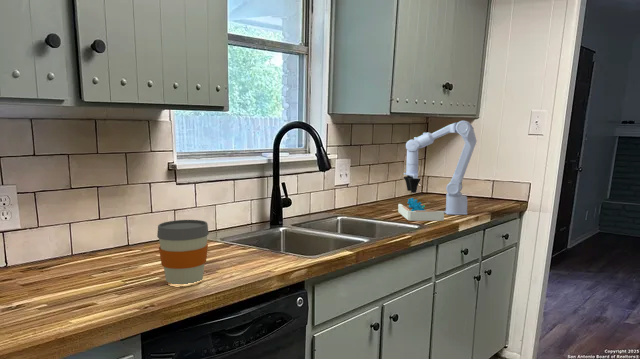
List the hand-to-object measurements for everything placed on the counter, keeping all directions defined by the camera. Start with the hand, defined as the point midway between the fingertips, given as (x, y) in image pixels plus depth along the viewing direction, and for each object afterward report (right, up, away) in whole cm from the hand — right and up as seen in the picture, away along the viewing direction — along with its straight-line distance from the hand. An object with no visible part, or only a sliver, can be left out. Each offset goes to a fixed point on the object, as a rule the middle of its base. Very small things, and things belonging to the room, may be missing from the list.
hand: (411, 191), depth 225 cm
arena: (+1, -11, -14) cm, 17 cm away
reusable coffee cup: (-80, -20, -108) cm, 136 cm away
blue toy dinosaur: (+1, -11, -9) cm, 14 cm away
